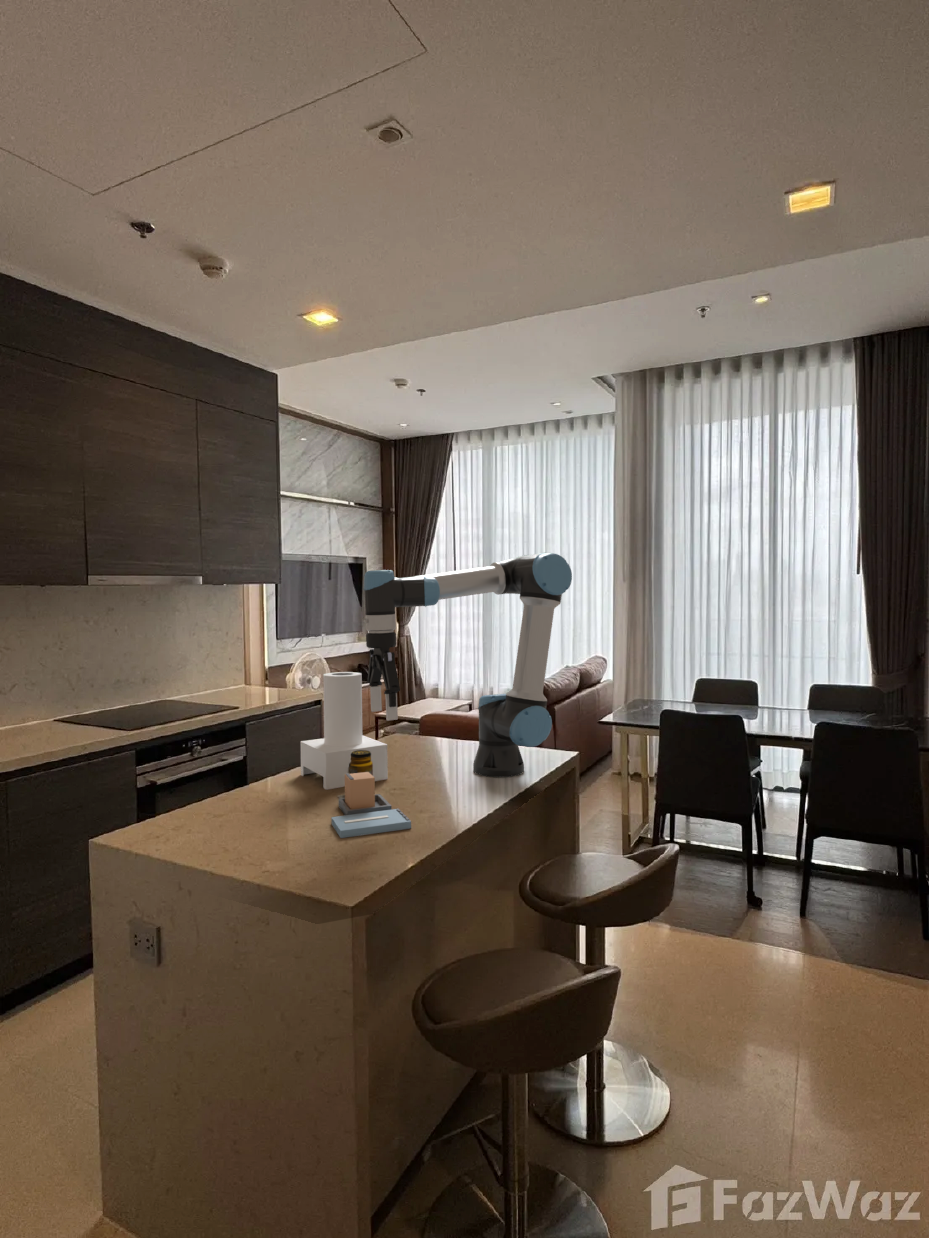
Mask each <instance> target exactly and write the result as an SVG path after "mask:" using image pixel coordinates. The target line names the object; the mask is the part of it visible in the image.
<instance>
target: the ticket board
mask: <svg viewBox="0 0 929 1238" xmlns="http://www.w3.org/2000/svg"><path fill="white" fill-rule="evenodd" d="M330 819H331V826H332V827H333V829H334V830H335V832H336V834H338V836H339V838H340V839H344V838H351V837H357V836H358V837H360V836H366V835H373V834H378V833H379V834H381V833H387V832H394V831H401V830H409V829H412V821H411V819H410V818H409V817H408V816H407V815H406V814H405V813H404V812H403V811H402V810H401V809H400V808H391V810H384V811H376V812H368V813H360V814H352V815H339V816H338V815H337V816H331V818H330Z"/></svg>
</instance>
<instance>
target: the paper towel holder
mask: <svg viewBox="0 0 929 1238" xmlns="http://www.w3.org/2000/svg"><path fill="white" fill-rule="evenodd" d="M362 675H363V674H362V672H353V671H339V672H338V671H337V672H328V673H327V672H326V673H323V678H322V679H323V733H324V734H323V736H324V737H323V738H317V739H308V740H301V741H300V776H302V777H304V775H310V774H315V773H316V774H318V775H319V776H321V777H323V779H322V780H323V789H324V790H326V791H328V790H332V789H337V788H338V789H339V788H345V774H349V764H350V762H351V753H352V752H353V751H357V750H367V751H370V752H371V761H372V763H373V777H374V778H375V782H379V781H383V780H388V778H389V777H388V776H389V774H388V771H389V770H388V768H389V767H388V764H389V763H388V761H389V759H388V744H387V743H384V742H381V741H379V740H376V739H374V738H371V737H369V736H365V735H364V734H363V688H362V687H363V683H362V682H363V678H362Z"/></svg>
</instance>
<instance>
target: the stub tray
mask: <svg viewBox="0 0 929 1238" xmlns="http://www.w3.org/2000/svg"><path fill="white" fill-rule="evenodd" d="M338 808H339V809H340V811H341V812H342V813H343V816H345V815H352V814H360V813H368V812H376V811H384V810H392V804H391V803H390V802H388V800H387V799H386V798H385V797H383V795H382V794H380V793H377V794H376V793H375V807H368V808H360V809H352V810H350V808H349V807H348V806H347V805H346V803H345V798H341V799H340V798H338Z"/></svg>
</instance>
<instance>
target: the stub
mask: <svg viewBox="0 0 929 1238" xmlns="http://www.w3.org/2000/svg"><path fill="white" fill-rule="evenodd" d="M375 782H376V781H375V778H374V777H373V776H372V775H371V774H370V773H369V772H362V773H353V774H349V773H348V774H345V786H344V795H345V803H346V805H347V806H348V807H349V808H350V810H352V809H360V808H368V807H375V794H376V788H375V785H376V783H375Z"/></svg>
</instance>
